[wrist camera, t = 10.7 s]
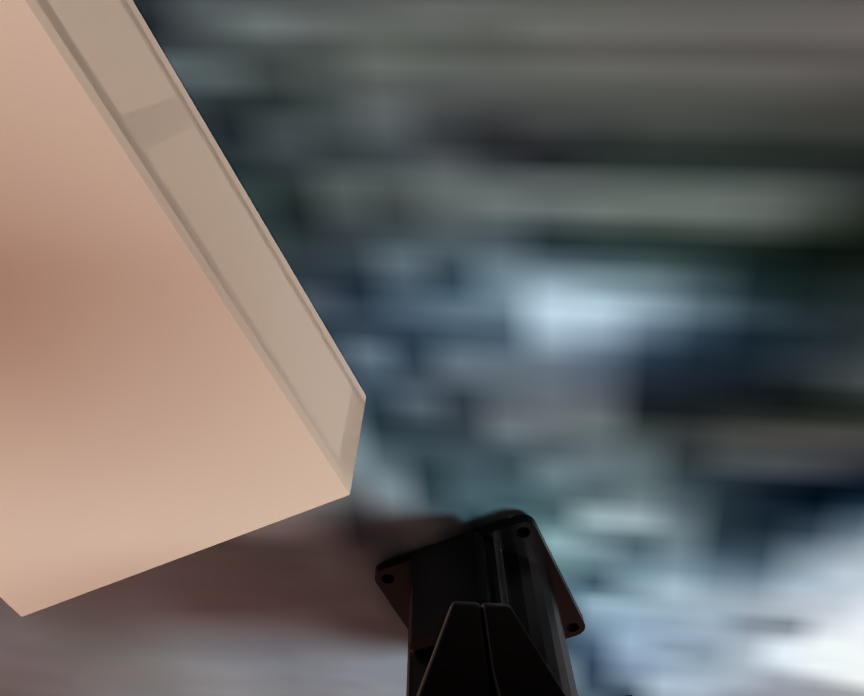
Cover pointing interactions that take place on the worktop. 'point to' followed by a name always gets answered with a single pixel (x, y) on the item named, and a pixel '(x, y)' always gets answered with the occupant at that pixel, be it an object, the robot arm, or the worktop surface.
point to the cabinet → (141, 322)
